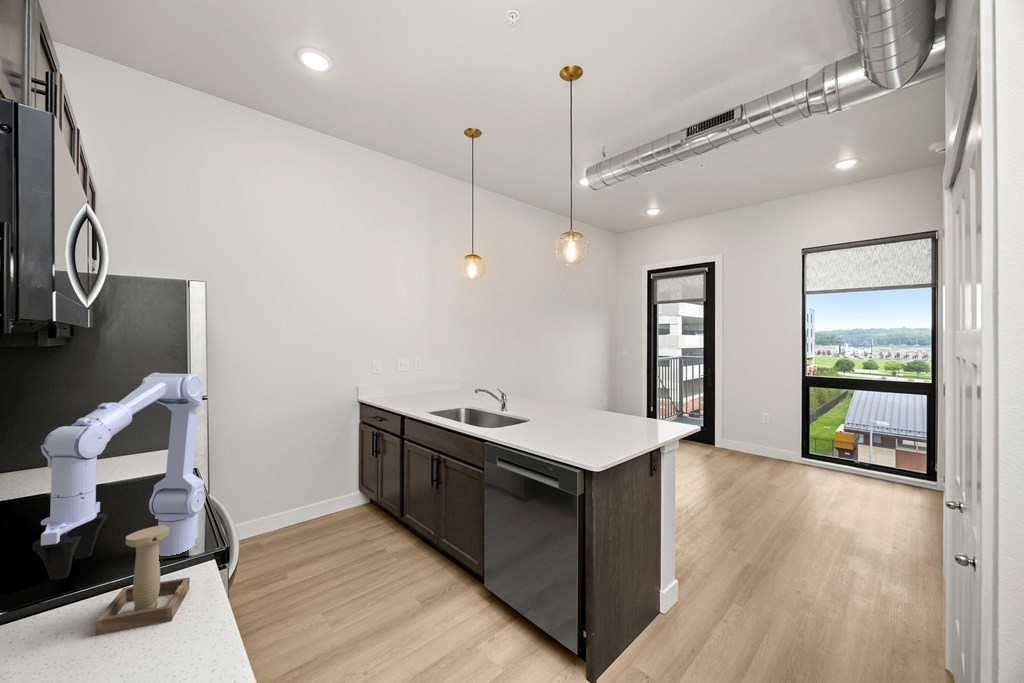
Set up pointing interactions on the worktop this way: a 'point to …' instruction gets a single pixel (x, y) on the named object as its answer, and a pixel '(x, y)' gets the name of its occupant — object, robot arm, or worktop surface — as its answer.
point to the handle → (147, 565)
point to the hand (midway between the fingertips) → (71, 567)
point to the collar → (146, 617)
